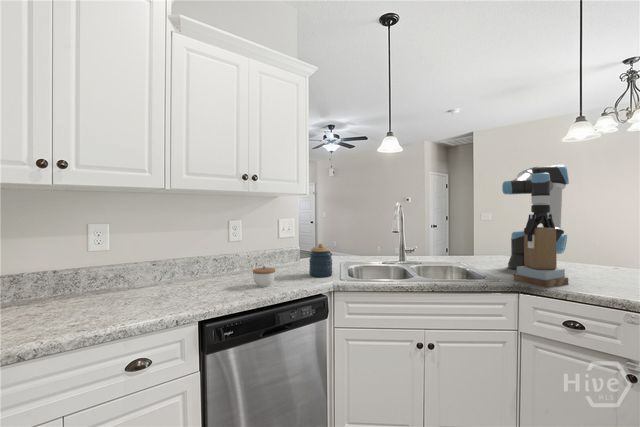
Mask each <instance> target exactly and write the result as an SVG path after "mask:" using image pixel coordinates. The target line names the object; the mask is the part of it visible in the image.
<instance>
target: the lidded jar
mask: <svg viewBox="0 0 640 427" xmlns="http://www.w3.org/2000/svg"><path fill="white" fill-rule="evenodd" d="M275 276H276V269H275V267H266V265H262V267H258V268H253V269H252V277H253V278H252V279H253V282H254V283H255V285H257V287H258V288H267V287H271V285H272V284H273V283H274V281H275V278H276V277H275Z"/></svg>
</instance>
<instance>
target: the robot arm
mask: <svg viewBox="0 0 640 427" xmlns="http://www.w3.org/2000/svg"><path fill="white" fill-rule="evenodd" d="M569 184H570V180H569V173H568V168H567V166H566V165H565V164H555V165H545V166H543V165H542V166H534V167H529V168H528V169H525V170H522V171H521V172H519V173H518V174H517V176H516V177H515V178H514V179H512V180H505V181H503V183H502V185H501V186H502V194H504V195H525V194H526V195H528V194H529V195H531V199H530V200H531V205H530V206H531V208H530V212H531V214H528V219H527V222H526V225H525V227H524V228H525V231H524V230H516V231H513V232H512V233H511V238H510V240H511V241H510V242H511V243H510V244H511V248H510V249H511V250H510V252H511V253H510V254H511V255H510V258H509V260H508V263H507V268H508V269H510V270H516V271H517V267H519V266H525V265H524V233H525V234H527V235H528V248H534V235H533V234H534V229H535V228H537V227H539V225H540V224H541V225H542V227H546V228H555V229H556V255H561V254H563V253H565V250H566V248H567V242H568V234H567V233H565V230H563V228H562V206H563V204H562V202H563V190H564V189H565V188H566V185H569Z"/></svg>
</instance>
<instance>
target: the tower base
mask: <svg viewBox="0 0 640 427" xmlns="http://www.w3.org/2000/svg"><path fill="white" fill-rule="evenodd" d="M513 281H515V282H518V283H519V282H520V283H524V282H525V283H526V284H529V283H530V284H529V285H534V286H538V287H542V288H543V287H544V288H553V287H559V286H565V285H569V277H567V276H565V278H558V279H552V280H541V279H536V278H531V277H526V276H521V275H517V273H515V274H513Z"/></svg>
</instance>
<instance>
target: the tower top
mask: <svg viewBox="0 0 640 427" xmlns="http://www.w3.org/2000/svg"><path fill="white" fill-rule="evenodd" d="M516 274H517V275H521V276H526V277H531V278H536V279H541V280H552V279H558V278H565V277H566V272H565V268H559V267H557V268H556V269H533V268H530V267H526V266H519V267H517V270H516Z"/></svg>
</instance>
